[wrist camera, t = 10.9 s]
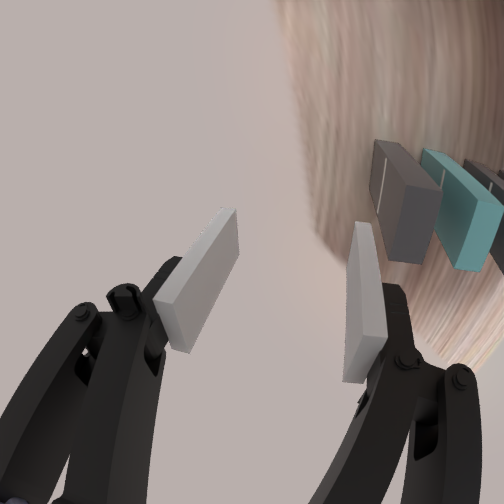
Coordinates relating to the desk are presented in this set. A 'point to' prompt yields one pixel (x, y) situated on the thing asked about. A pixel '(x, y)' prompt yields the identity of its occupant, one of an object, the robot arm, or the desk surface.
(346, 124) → the desk surface
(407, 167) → the domino
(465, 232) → the domino
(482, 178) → the domino
